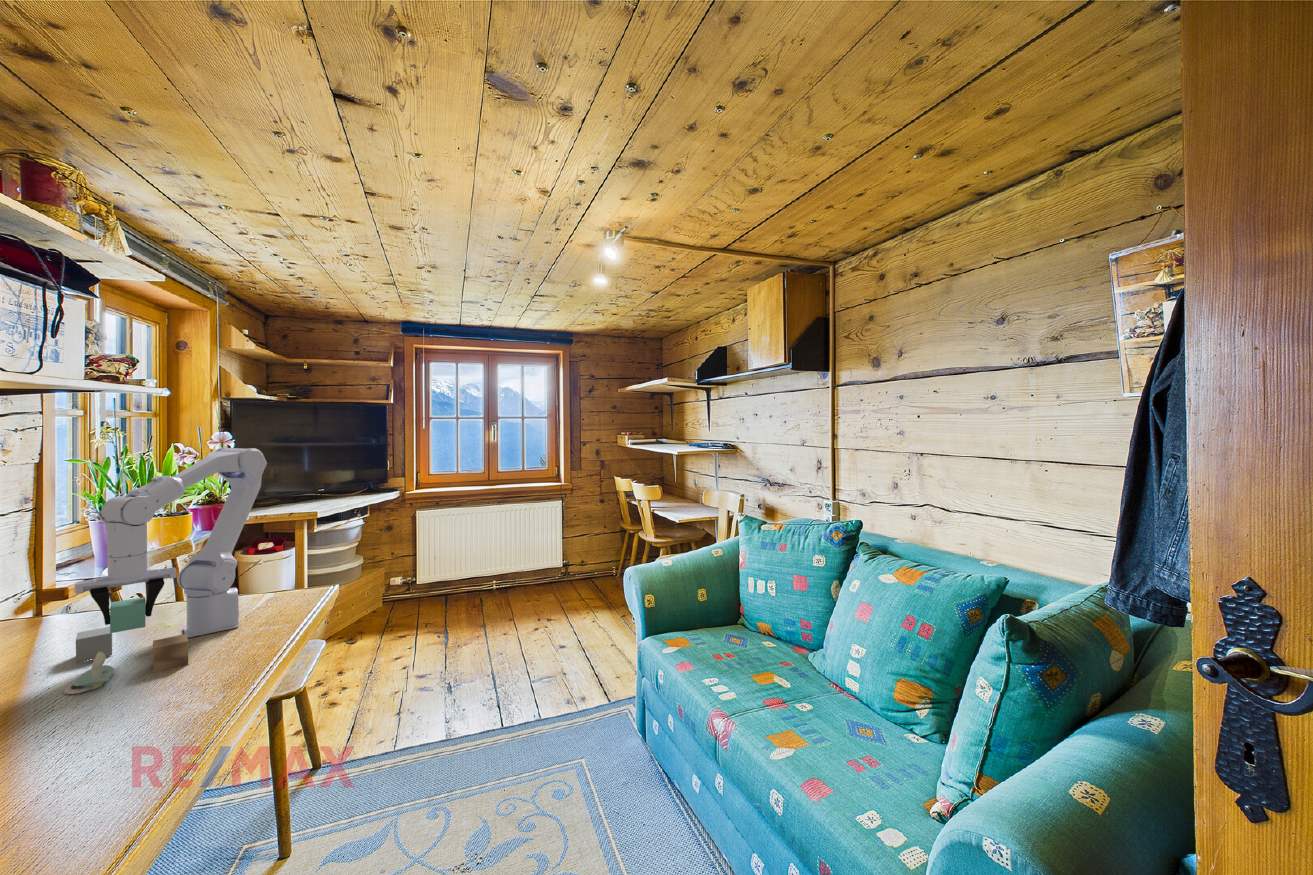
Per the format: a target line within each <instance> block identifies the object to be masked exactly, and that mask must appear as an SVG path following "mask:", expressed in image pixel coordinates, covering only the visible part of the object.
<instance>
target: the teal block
mask: <svg viewBox="0 0 1313 875" xmlns="http://www.w3.org/2000/svg"><path fill="white" fill-rule="evenodd" d="M145 607H146V596H144V597H138V598H137V597H136V598H130V599H123V600H117V601H111V603H110V606H109V612H110V624H109V627H110V633H112V634H113V633H115V634H116V633H119V632H125V631H130V630H136V629H141V628H142V629H143V628H146V615H145Z"/></svg>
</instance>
